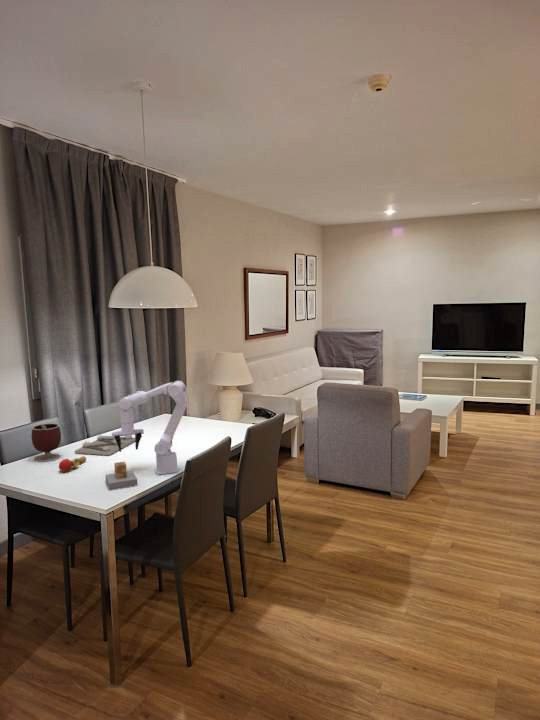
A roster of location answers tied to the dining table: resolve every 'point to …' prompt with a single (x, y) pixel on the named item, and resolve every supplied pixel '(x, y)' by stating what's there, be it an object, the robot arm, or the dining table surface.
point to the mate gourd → (46, 441)
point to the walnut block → (120, 470)
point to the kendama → (70, 463)
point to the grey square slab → (121, 481)
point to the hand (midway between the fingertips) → (128, 450)
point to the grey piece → (104, 445)
